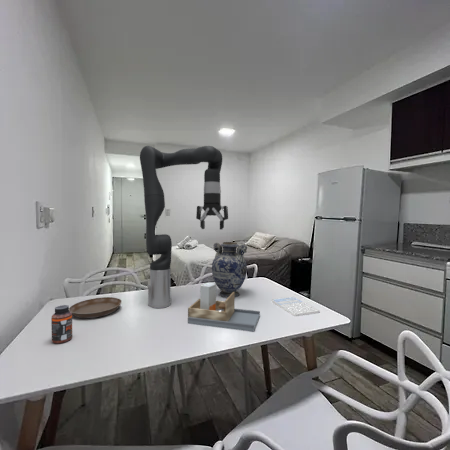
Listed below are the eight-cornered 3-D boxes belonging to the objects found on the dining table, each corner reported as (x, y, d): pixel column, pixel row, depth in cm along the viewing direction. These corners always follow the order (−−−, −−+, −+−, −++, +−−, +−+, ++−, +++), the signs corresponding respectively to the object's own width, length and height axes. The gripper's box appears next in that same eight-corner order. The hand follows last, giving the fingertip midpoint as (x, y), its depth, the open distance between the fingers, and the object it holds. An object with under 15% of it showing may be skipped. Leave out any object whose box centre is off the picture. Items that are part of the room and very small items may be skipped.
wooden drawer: (188, 318, 103) (188, 296, 102) (199, 308, 114) (199, 288, 114) (226, 323, 98) (226, 300, 98) (234, 311, 110) (234, 291, 109)
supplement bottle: (69, 342, 85) (69, 309, 85) (48, 345, 84) (48, 310, 83) (74, 335, 91) (74, 303, 91) (55, 337, 89) (54, 304, 89)
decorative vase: (202, 295, 137) (203, 242, 136) (222, 287, 152) (223, 240, 151) (236, 303, 125) (237, 245, 124) (254, 294, 140) (256, 242, 139)
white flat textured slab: (294, 317, 108) (294, 313, 108) (271, 302, 127) (271, 298, 127) (320, 313, 113) (321, 309, 113) (294, 299, 132) (294, 296, 131)
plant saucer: (62, 323, 101) (62, 315, 101) (76, 306, 121) (75, 299, 121) (119, 317, 107) (119, 309, 107) (123, 302, 127) (123, 295, 127)
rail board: (187, 323, 101) (187, 317, 101) (201, 309, 116) (201, 305, 115) (253, 331, 94) (253, 325, 94) (259, 316, 108) (259, 311, 108)
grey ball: (215, 318, 101) (215, 311, 101) (217, 315, 104) (217, 308, 104) (223, 319, 100) (223, 311, 100) (225, 316, 103) (224, 308, 103)
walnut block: (218, 313, 106) (218, 306, 106) (221, 310, 110) (221, 303, 110) (227, 314, 105) (227, 307, 105) (230, 311, 109) (230, 303, 109)
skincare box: (208, 316, 103) (208, 286, 103) (199, 314, 105) (199, 285, 105) (216, 311, 108) (216, 283, 108) (207, 310, 110) (208, 282, 110)
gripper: (194, 192, 113) (194, 229, 114) (225, 191, 109) (225, 229, 110) (200, 193, 121) (200, 228, 121) (229, 193, 117) (229, 229, 117)
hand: (212, 229), depth 116 cm, fingers open, 8 cm apart
